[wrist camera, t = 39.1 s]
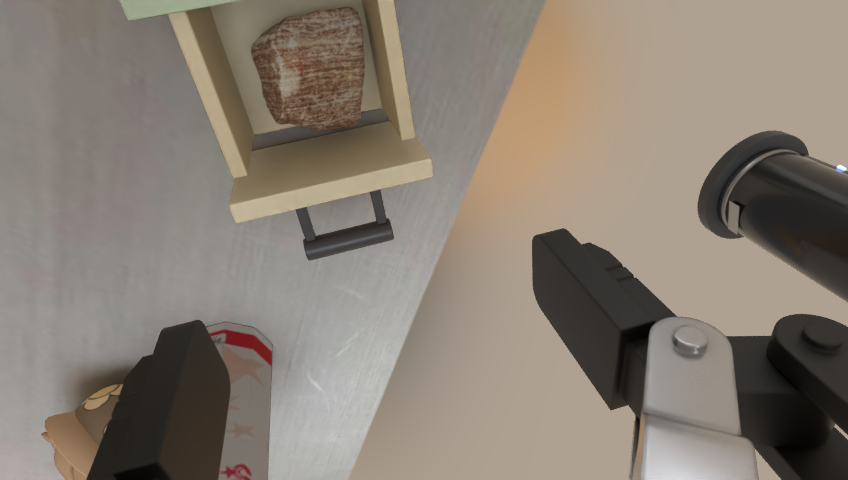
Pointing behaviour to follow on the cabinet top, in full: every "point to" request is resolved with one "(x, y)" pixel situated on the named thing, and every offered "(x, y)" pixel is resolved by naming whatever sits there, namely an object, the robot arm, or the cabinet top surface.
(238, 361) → the spray bottle
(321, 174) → the drawer
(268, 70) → the stone
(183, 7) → the cabinet
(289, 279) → the cabinet top surface
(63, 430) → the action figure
